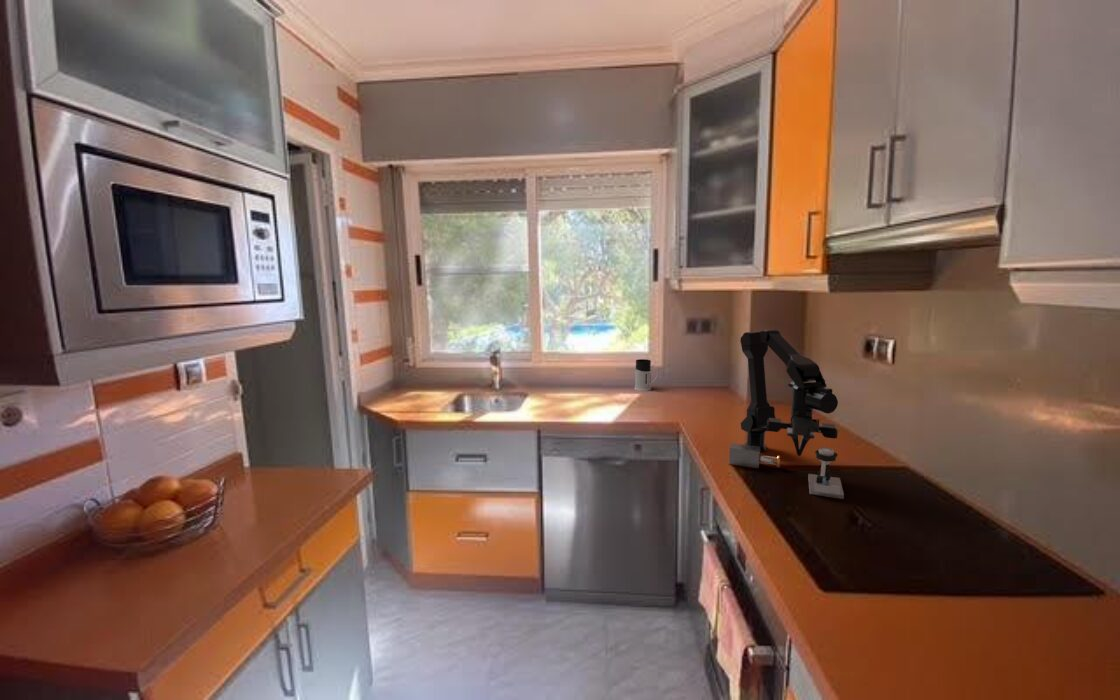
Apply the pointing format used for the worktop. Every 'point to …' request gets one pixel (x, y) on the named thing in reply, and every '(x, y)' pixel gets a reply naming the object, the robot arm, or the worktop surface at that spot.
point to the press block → (744, 455)
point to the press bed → (825, 487)
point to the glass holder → (643, 375)
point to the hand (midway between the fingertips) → (799, 455)
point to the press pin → (770, 460)
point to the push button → (825, 464)
